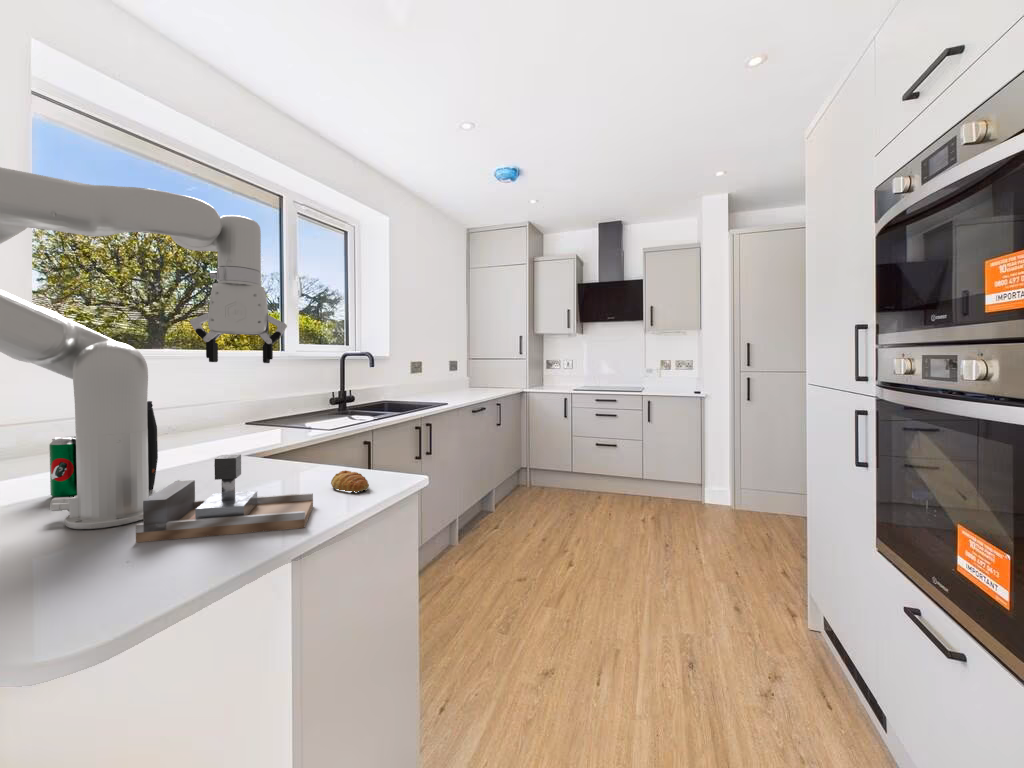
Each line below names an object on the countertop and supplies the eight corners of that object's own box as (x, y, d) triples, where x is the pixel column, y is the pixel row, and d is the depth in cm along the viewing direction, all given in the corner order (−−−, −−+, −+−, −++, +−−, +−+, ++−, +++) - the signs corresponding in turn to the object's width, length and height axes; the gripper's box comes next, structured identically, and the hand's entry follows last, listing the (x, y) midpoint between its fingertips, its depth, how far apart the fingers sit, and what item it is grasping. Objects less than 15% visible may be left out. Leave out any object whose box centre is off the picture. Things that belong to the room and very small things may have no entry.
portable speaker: (167, 488, 98) (166, 400, 97) (123, 500, 88) (122, 404, 88) (135, 485, 99) (134, 399, 98) (88, 497, 90) (87, 402, 89)
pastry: (376, 490, 100) (376, 474, 100) (349, 497, 94) (349, 480, 94) (354, 483, 106) (353, 467, 105) (327, 489, 100) (327, 472, 100)
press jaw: (195, 523, 72) (194, 463, 72) (214, 506, 81) (214, 452, 80) (243, 519, 74) (243, 461, 74) (257, 503, 83) (257, 450, 83)
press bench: (136, 542, 69) (135, 501, 68) (169, 516, 80) (168, 481, 80) (304, 527, 76) (304, 490, 76) (313, 506, 87) (313, 474, 87)
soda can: (88, 494, 92) (87, 437, 92) (54, 500, 88) (53, 440, 87) (81, 490, 95) (79, 435, 94) (47, 496, 90) (46, 438, 90)
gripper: (182, 272, 84) (183, 361, 85) (283, 279, 89) (283, 363, 90) (197, 279, 91) (198, 361, 92) (289, 285, 97) (289, 363, 97)
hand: (240, 362), depth 91 cm, fingers open, 9 cm apart
